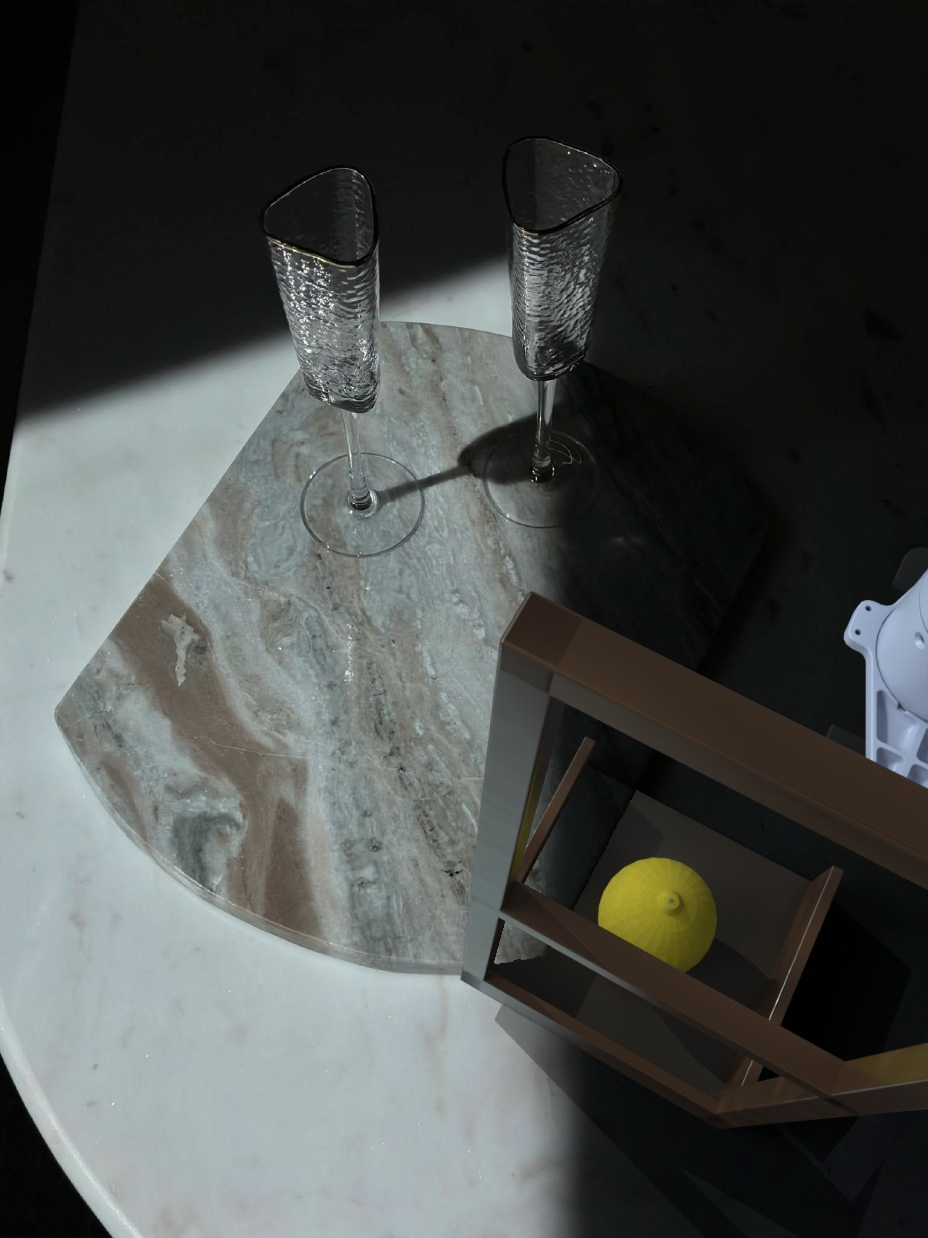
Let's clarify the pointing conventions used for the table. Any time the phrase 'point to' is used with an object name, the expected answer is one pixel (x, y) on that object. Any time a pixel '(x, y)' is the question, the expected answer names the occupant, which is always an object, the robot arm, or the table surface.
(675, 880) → the lemon
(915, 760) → the robot arm
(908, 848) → the rack
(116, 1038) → the table surface
